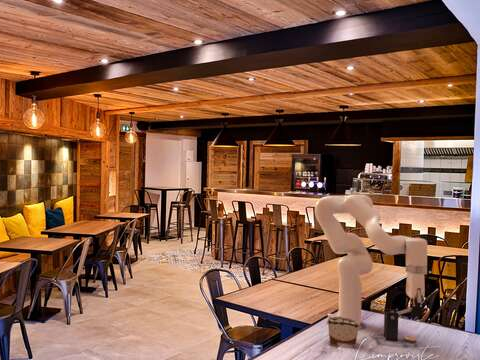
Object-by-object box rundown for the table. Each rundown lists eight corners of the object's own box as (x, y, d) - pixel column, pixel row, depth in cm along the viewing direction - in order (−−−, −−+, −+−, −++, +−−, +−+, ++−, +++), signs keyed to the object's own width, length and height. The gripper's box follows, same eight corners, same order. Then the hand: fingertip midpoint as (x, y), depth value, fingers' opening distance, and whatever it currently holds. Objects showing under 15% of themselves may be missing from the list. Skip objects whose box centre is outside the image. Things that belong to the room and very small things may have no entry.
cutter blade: (421, 309, 187) (418, 301, 187) (423, 311, 184) (419, 303, 184) (388, 319, 190) (385, 311, 191) (390, 321, 187) (386, 313, 188)
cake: (404, 345, 185) (404, 338, 185) (402, 341, 190) (402, 334, 190) (417, 347, 184) (417, 340, 184) (414, 343, 188) (415, 336, 188)
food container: (358, 343, 187) (359, 318, 187) (359, 348, 181) (360, 323, 181) (325, 339, 191) (326, 315, 191) (326, 344, 185) (326, 319, 185)
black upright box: (402, 340, 191) (402, 309, 191) (406, 347, 184) (407, 315, 183) (375, 337, 194) (376, 307, 194) (378, 344, 186) (379, 312, 186)
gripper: (401, 265, 195) (400, 308, 195) (410, 272, 179) (409, 319, 179) (421, 266, 193) (420, 310, 193) (432, 273, 177) (431, 321, 177)
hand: (415, 314), depth 186 cm, fingers closed on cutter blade, 3 cm apart
